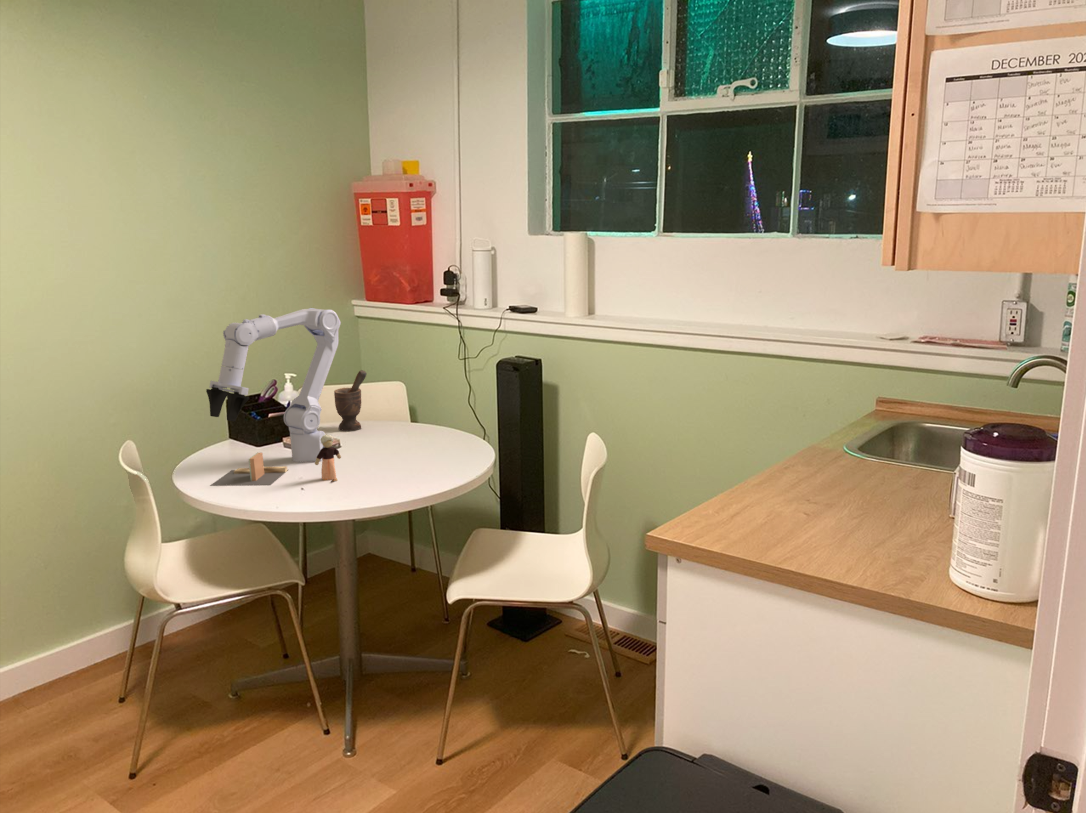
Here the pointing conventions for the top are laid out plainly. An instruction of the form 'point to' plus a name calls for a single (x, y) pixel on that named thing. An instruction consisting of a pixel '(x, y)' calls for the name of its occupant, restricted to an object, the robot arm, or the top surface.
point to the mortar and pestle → (349, 404)
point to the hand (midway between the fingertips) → (222, 418)
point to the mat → (246, 479)
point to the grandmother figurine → (327, 458)
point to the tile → (256, 466)
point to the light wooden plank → (266, 470)
